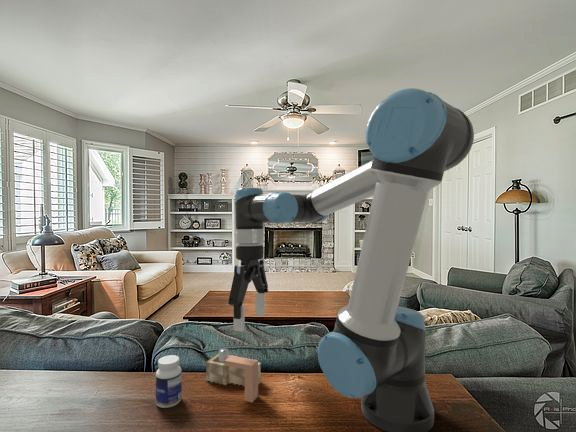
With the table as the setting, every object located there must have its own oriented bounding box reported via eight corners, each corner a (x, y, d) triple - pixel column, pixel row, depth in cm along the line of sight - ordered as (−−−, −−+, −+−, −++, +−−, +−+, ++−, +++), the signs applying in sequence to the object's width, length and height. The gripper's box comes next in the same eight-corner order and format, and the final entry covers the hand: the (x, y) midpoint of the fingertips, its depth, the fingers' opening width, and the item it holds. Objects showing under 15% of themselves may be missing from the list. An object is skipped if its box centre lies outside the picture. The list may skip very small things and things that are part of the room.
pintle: (229, 376, 87) (229, 349, 87) (224, 381, 85) (224, 352, 85) (221, 375, 88) (221, 347, 88) (217, 379, 86) (217, 351, 86)
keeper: (258, 395, 78) (258, 360, 78) (252, 402, 75) (252, 365, 75) (230, 390, 81) (230, 355, 81) (224, 396, 78) (224, 360, 78)
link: (262, 379, 86) (262, 360, 86) (252, 390, 80) (252, 370, 80) (219, 371, 91) (219, 353, 91) (206, 381, 85) (206, 362, 85)
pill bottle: (151, 402, 76) (151, 359, 76) (174, 392, 80) (174, 351, 80) (162, 412, 72) (162, 367, 72) (186, 401, 76) (186, 358, 76)
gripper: (255, 241, 102) (256, 309, 101) (213, 248, 78) (214, 336, 78) (278, 241, 99) (278, 311, 99) (241, 248, 76) (242, 340, 75)
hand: (250, 322), depth 88 cm, fingers open, 13 cm apart
